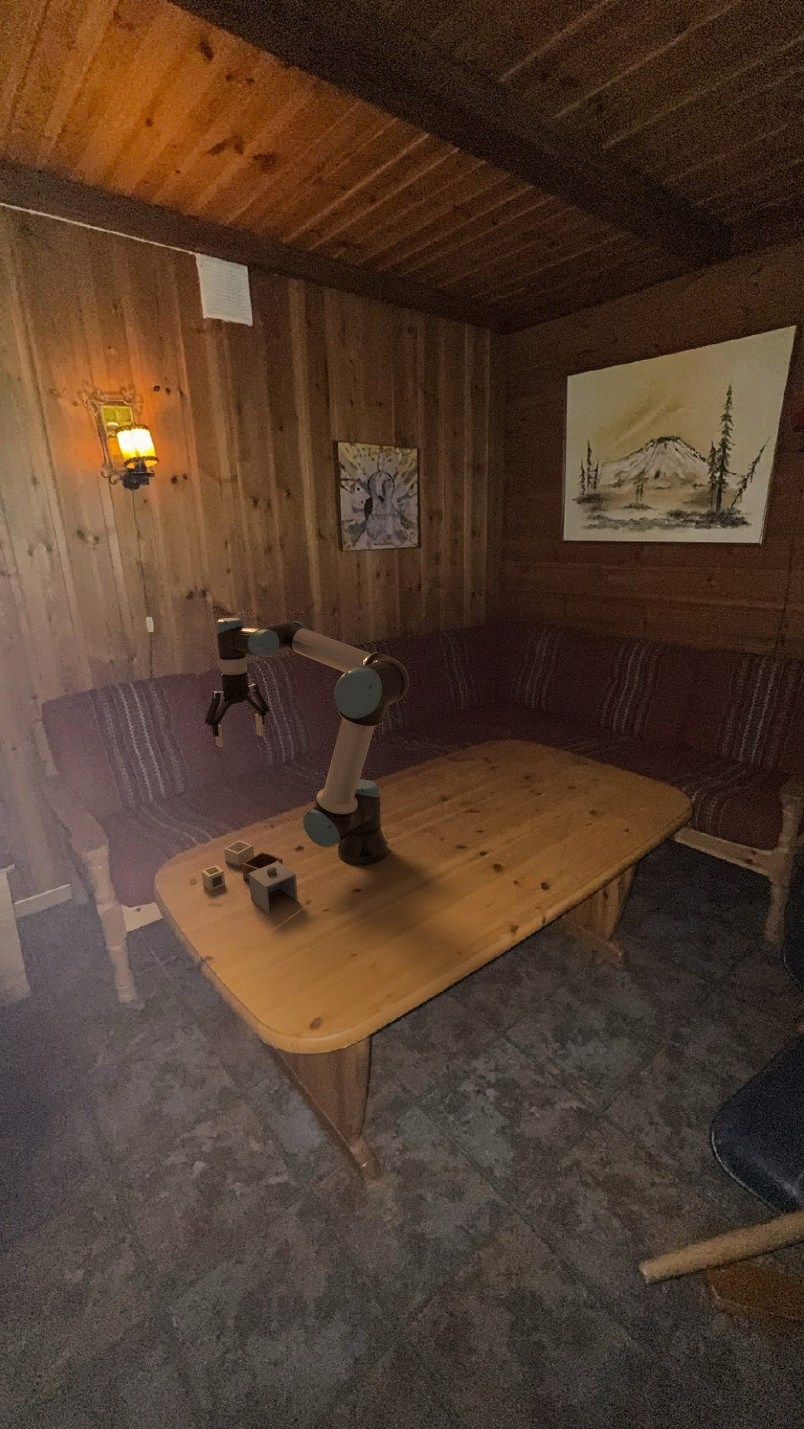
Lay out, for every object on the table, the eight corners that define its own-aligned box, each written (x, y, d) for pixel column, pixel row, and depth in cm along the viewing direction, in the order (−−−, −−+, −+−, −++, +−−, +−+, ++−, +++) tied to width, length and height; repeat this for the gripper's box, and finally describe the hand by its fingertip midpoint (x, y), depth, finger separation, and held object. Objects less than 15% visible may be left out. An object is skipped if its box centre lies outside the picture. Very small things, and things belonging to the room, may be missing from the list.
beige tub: (254, 858, 188) (253, 845, 187) (239, 867, 184) (237, 853, 182) (240, 853, 192) (239, 840, 190) (225, 862, 187) (223, 848, 186)
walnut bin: (283, 874, 179) (282, 858, 178) (263, 887, 173) (262, 871, 172) (263, 866, 184) (262, 851, 182) (243, 879, 177) (241, 863, 176)
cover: (297, 900, 166) (295, 869, 164) (268, 914, 161) (265, 882, 158) (280, 886, 173) (277, 857, 170) (251, 899, 167) (247, 869, 165)
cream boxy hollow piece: (225, 885, 175) (223, 870, 173) (210, 891, 172) (208, 876, 170) (218, 878, 178) (216, 864, 177) (203, 884, 175) (201, 870, 174)
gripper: (264, 663, 193) (269, 728, 199) (187, 677, 176) (195, 747, 182) (277, 667, 188) (282, 733, 194) (200, 681, 171) (208, 753, 177)
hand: (240, 740), depth 188 cm, fingers open, 13 cm apart
